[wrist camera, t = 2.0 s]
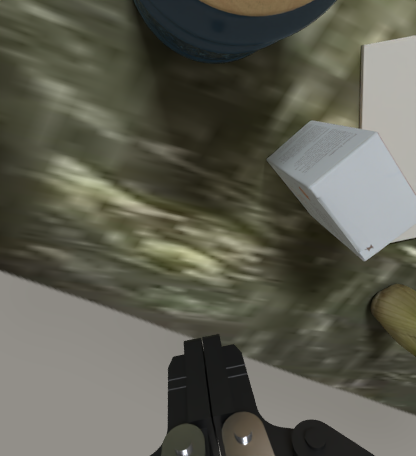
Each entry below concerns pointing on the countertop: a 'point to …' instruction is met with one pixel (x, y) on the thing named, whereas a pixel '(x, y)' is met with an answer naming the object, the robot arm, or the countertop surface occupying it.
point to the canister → (227, 24)
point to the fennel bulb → (397, 314)
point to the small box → (348, 184)
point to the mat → (392, 102)
